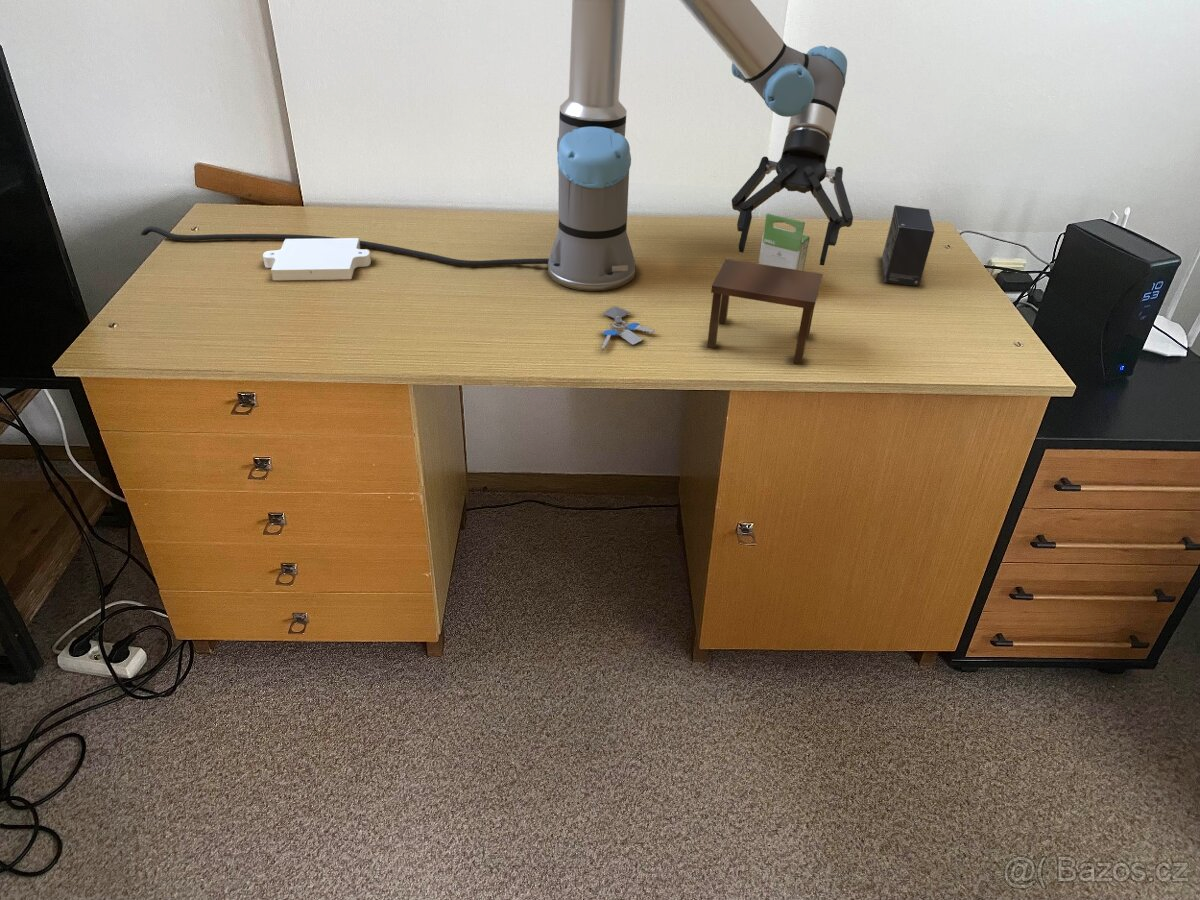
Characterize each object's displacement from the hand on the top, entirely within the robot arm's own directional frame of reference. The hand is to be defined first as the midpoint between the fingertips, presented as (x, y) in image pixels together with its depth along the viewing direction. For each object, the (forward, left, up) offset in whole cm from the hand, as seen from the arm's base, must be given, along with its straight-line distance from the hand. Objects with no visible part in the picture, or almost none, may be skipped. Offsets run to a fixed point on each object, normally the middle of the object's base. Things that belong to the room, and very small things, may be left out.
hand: (781, 255), depth 147 cm
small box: (+20, +16, -7) cm, 27 cm away
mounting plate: (-78, -18, -7) cm, 80 cm away
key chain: (-20, -22, -7) cm, 30 cm away
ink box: (0, +1, -7) cm, 7 cm away
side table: (0, -18, -7) cm, 19 cm away
